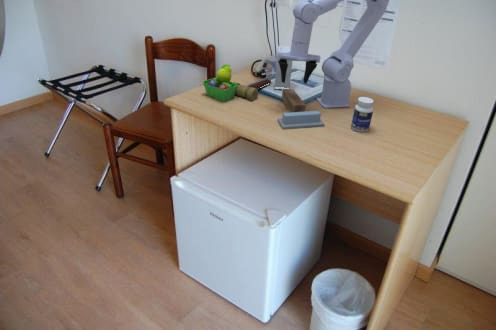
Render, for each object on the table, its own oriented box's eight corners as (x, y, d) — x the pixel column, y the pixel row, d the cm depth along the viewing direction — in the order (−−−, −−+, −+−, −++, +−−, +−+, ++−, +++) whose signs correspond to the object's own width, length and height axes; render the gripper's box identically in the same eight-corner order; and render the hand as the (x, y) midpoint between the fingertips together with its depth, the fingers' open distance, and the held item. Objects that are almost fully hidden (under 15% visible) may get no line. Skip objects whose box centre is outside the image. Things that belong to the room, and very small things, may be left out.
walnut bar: (292, 100, 148) (293, 88, 145) (304, 117, 136) (305, 104, 134) (281, 101, 147) (282, 89, 145) (292, 117, 135) (294, 105, 133)
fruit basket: (201, 94, 149) (200, 64, 143) (219, 88, 154) (218, 59, 148) (223, 104, 143) (223, 73, 136) (240, 97, 148) (241, 67, 142)
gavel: (261, 72, 163) (282, 78, 158) (260, 83, 165) (281, 89, 160) (229, 83, 148) (251, 90, 143) (228, 95, 150) (250, 102, 145)
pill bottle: (356, 133, 127) (362, 104, 122) (347, 125, 132) (352, 96, 126) (372, 131, 128) (378, 102, 123) (363, 123, 133) (369, 95, 128)
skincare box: (274, 82, 162) (277, 45, 154) (289, 83, 162) (293, 46, 154) (274, 90, 155) (276, 51, 147) (289, 91, 155) (293, 52, 147)
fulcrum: (317, 118, 135) (319, 108, 133) (324, 126, 130) (325, 116, 128) (277, 120, 132) (278, 110, 131) (282, 129, 128) (283, 118, 126)
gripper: (281, 43, 125) (275, 85, 132) (326, 46, 127) (318, 87, 134) (276, 37, 131) (271, 77, 138) (319, 40, 133) (312, 79, 140)
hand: (294, 82), depth 136 cm, fingers open, 7 cm apart
